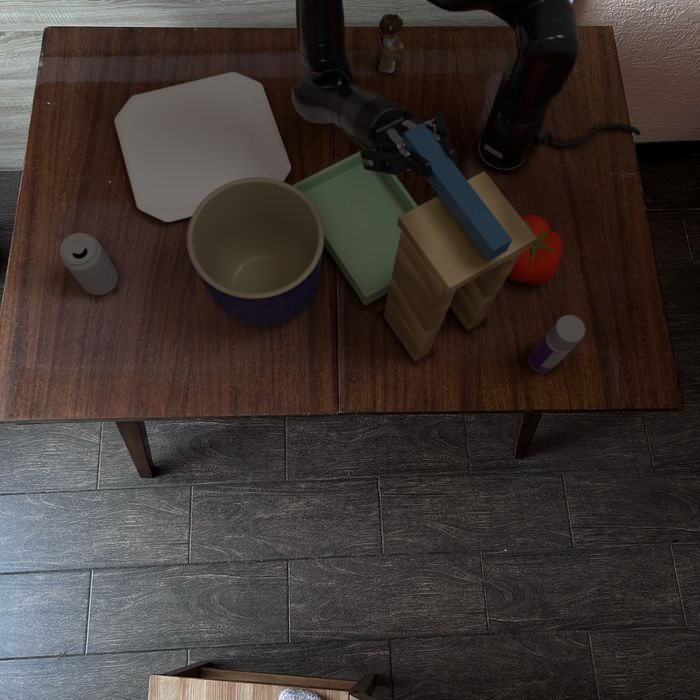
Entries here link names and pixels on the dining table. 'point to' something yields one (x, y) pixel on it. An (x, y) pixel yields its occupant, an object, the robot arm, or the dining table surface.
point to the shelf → (448, 268)
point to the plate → (197, 142)
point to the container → (556, 343)
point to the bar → (459, 195)
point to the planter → (257, 249)
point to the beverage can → (89, 263)
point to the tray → (360, 221)
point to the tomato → (538, 254)
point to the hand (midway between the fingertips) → (441, 164)
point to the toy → (389, 40)
